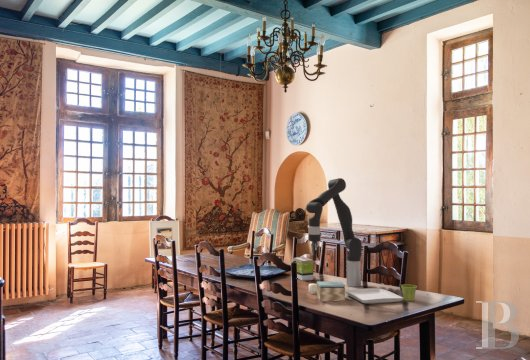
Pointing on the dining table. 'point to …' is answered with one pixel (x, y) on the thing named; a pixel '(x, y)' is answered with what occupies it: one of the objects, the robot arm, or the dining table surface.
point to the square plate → (373, 295)
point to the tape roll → (312, 288)
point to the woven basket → (330, 294)
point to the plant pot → (408, 292)
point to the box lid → (331, 284)
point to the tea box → (304, 268)
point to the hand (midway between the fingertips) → (314, 260)
